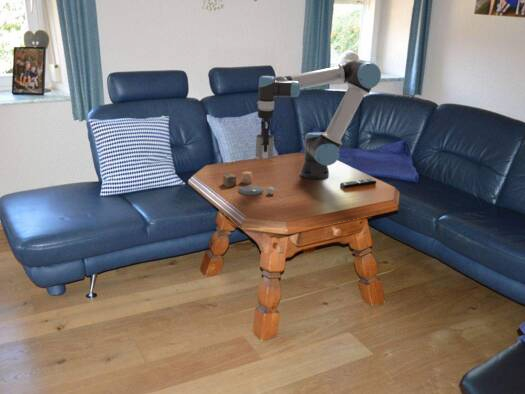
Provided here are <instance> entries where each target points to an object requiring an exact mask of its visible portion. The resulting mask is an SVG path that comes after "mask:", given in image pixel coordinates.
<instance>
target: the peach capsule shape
mask: <svg viewBox="0 0 525 394" xmlns="http://www.w3.org/2000/svg"><path fill="white" fill-rule="evenodd" d="M241 183H242V184H245V185H246V184H247V185H249V184H252V183H253V172H252V171H243V172H242V173H241Z"/></svg>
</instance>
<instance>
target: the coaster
mask: <svg viewBox="0 0 525 394" xmlns="http://www.w3.org/2000/svg"><path fill="white" fill-rule="evenodd" d="M238 193H240V194H241V195H244V196H258V195H262V194H263V193H264V188H263V187H261V186H257V185H243V186H241V187H239V188H238Z"/></svg>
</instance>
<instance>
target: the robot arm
mask: <svg viewBox="0 0 525 394" xmlns="http://www.w3.org/2000/svg"><path fill="white" fill-rule="evenodd" d="M381 77H382V73H381V69H380V67H379V66H378V65H377V64H376V63H374V62H372V61H368V60H362V59H356V60H352V61H346V62H343V63H339V64H338V65H337V66H334V67H328V68H323V69H317V70H311V71H307V72H301V73H296V74H292V75H291V74H290V75H286V76H276V77H275V76H274V75H261V76H260V77H259V81H258V100H257V102H256V103H257V108H258V109H257V118H259V119H261V122H260V127H261V128H260V129H261V131H260V132H261V133H260V134H262V136H263V144H261V145H263V146H262V158H261V159H269V158H268V145H269V135H270V132H269V131H270V123H271V122H270V121H269V120H270V119H271V120H272V119H274V115H275V111H274V109H275V98H296V97H299V96H300V93H301V90H302V89H307V88H309V89H310V88H314V87H318V86H323V85H329V84H334V83H340V84H345V83H347V84H346V85H347V89H346V91H345V94H344V95H343V97H342V99H341V101H340V103H339V105H338V107H337V109H336V111H335V113H334V115H333V116H332V118H331V120H330V122H329V125H328V126H327V128H326V129H325V131H324V132H308V133H306V134H305V138H304V142H305V143H304V160H303V163H302V166H301V168H300V176H301V177H303V178H305V179H311V180H323V179H327V178H329V176H330V171H329V167H328V166H331V165H333V164H335V163H336V162H337V161H338V159H339V157H340V148H341V146H342V145H343V143H342V138H343V136H344V134H345V132H346V130H347V128H348V127H349V125H350V123H351V122H352V119H353V118H354V115H355V113H356V111H357V110H358V108H359V106H360V104H361V103H362V100H363V98H364V97H365V96H366V95H369V94H370V93H371V90H372V89H373V88H375V87H376V86H377V85H378V84H379V83H380V81H381Z"/></svg>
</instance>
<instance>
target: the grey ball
mask: <svg viewBox="0 0 525 394" xmlns="http://www.w3.org/2000/svg"><path fill="white" fill-rule="evenodd" d="M266 193H267V194H268V195H271V196H272V195H273V194H275V188H274V187H272V186H270V187H269V186H268V187H267V190H266Z"/></svg>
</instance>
